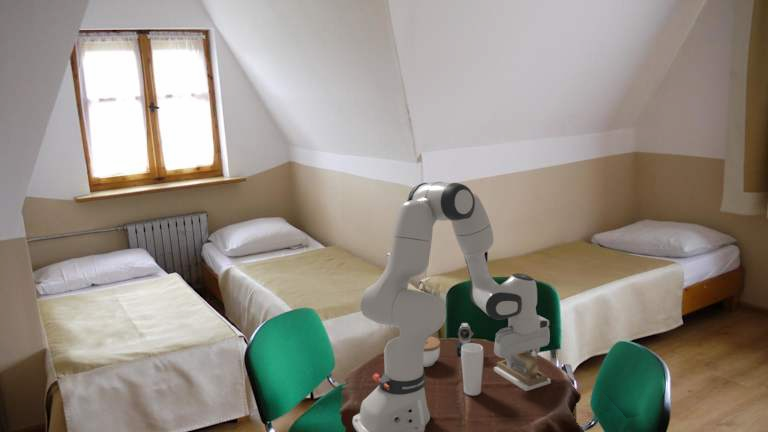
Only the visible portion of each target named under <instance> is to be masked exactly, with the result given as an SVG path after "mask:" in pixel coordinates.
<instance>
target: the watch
mask: <svg viewBox="0 0 768 432" xmlns="http://www.w3.org/2000/svg"><path fill="white" fill-rule="evenodd" d="M473 335H474V332H473V331H472V330H471V327H470V325H469V323H467V322H461V325H460V327H459V329H458V331H457V336H458V338H459V341H460V342H456V356H457V355H458V356H457V357H461V347H462V346H463V345H464V344H467V343H471V339H472V336H473Z"/></svg>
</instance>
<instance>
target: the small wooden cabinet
mask: <svg viewBox="0 0 768 432" xmlns="http://www.w3.org/2000/svg"><path fill="white" fill-rule="evenodd" d="M493 372H496V373H497V374H499V376H501V377H503V378H504V379H506V380H508V381H509V382H510V383H512V384H514V385H515V386H517V387H519V388H520V389H521V390H523V391H525V392H527V391H531V390H534V389H537V388H540V387H543V386H546V385H550V384H551V383H552V381H551V379H550V378H549V375H547V374H545V373H543V372H542V371H540V370H539V369H537V375H536V378H534V379H531V380H530V379H528V378H526V377H525V376H523V375H522V374H520V373H518V372H517V371H515V370H513V369H512V368H508V367H507V361H506V360H505V359H504V360H499V361H496V366H494V367H493Z"/></svg>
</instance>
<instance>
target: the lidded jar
mask: <svg viewBox="0 0 768 432" xmlns="http://www.w3.org/2000/svg"><path fill="white" fill-rule="evenodd" d="M440 353H441V341H440V340H439V338H437V337H434V336H432V335H431V336H430V337H429V338H428V339H427V341H426V343H425V347H424V356H423V368H424V367H425V368H428V367H432V366H434V364H435V363H436V362H437V361H438V359H439V357H440Z"/></svg>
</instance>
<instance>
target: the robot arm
mask: <svg viewBox="0 0 768 432" xmlns="http://www.w3.org/2000/svg"><path fill="white" fill-rule="evenodd" d="M437 221H440V222H441V221H450V222H451V225H452V229H453V233H454V235H455V239H456V241H457V243H458V246H459V247H460V250H461V252H462V254H463V257H464V261H465V263H466V267H467V268H466V269H467V271H468V274H469V278H470V286H469V287H470V288H469V297H470V299H471V301H472V303H473V304H474V305H475V306H476V307H477V308H480V309H481V310H482V311H483V312H484V313H485V314H486V315H487V316H488V317H490V318H491V319H493V320H497V321H500V320H506V319H507V321H508V325H507V327H502V328H500V329H499V330H498V331H497V332H496V333H495V339H494V345H493V353H494V355H495V356H497V357H498V358H500V359H504V360H506V361H507V367H508V368H512V367H514V362H512V361H511V360H510V359H511V356H512V355H516V354H519V353H523V352H530V351H531V354H530V353H529V354H530V355H532V356H534V357H536V358H538V354H539V352H541V351H540V350H541V348H543V347H546V346H548V345H549V343H550V339H551V338H550V337H551V333H550V331H551V329H550V327H549V326H550V320H549V319H547V318H545V317H543V316H541V315H538V314H537V309H536V307H537V305H538V288H537V283H536V280H535V279H534V278H533V277H532V276H529V275H528V274H524V273H513V274H511V275H510V277H508V278H507V280H505V281H504V282H502V283H501V284H499V283H498V282H497V281H496V280H495V279H493V277H492V276H491V274H490V271H489V267H488V263H487V260H486V255H485V253H487V252H488V251H489V250H490V249H491V248H492V247H493V245H494V241H495V240H494V234H493V228H492V226H491V222H490V219H489V216H488V214H487V211H486V209H485V206H484V205H483V203H482V202H481V199H480V198H479V196H478V195H477V194H476V193H474V192H472V190H471V189H470V188H469V187H468V186H467V185H465V184H462V183H458V182H443V181H432V182H423V183H420V184H417V185H415V186H414V187H413V188H412V189H411V190H410V192H409V194H408V198H407V200H406V201H405V202H404V203H402V204H401V206H400V207H399V210H398V212H397V216H396V219H395V222H394V227H393V232H392V240H391V245H390V251H389V254H388V255H389V256H388V260H387V263H386V266H385V269H384V271H383V272H382V274H381V276H380V277H379V278H378V279H377V280H376V281H375V282H374V283H372V284H371V285H370V286H368V287H367V288H366V289H365V290H364V291H363V293H362V295H361V298H360V302H359V303H360V304H359V307H360V311H361V313H362V315H363V317H365V318H366V319H369V320H370V321H373V322H374V323H376V324H379V325H383V326H389V327H394V328H398V329H399V336H396V337H394V338H392V339H390V340H389V341H388V342H387V343H386V344H385V346H384V350H383V359H384V363H383V364H384V371H383V373H382V375H381V376H380V374H379V373H374V374H373V375H372V380H373V381H374V382H376V383H379V385H378V386H376V388H375V389H373V391H371V393H370V394H368V396H366V398H364V399H363V400H362V402H361V405H360V411H359V413H357V414H356V415H354V416H353V417H352V425H353V428H354V430H355V431H356V432H425V430H426V426H427V424H428V423H429V421H430V420H431V415H430V410H429V408H428V405H427V404H428V403H427V400H426V398H427V397H426V392H425V387H426V371H425V370H424V367H423V356H424V347H425V343H426V341H427V339H428V338H429V337H430V336H431V337H432V335H434V334H435V333H436V332H437V331H439V330H440V329H441V328H442V327H443V325H444V324H445V321H446V317H447V307H446V305H445V302H444V301H443V299H442V298H441V297H438V296H436V295H434V294H431V293H429V292H425V291H420V290H414V289H410V288H409V289H408V287H409V284H410V282H411V281H412V279H413V278H415V277H417V276H420V275H423V274H424V273H425V271H427V269H428V267H429V262H430V256H431V250H432V249H431V248H432V243H433V242H432V241H433V230H434V229H433V228H434V225H435V223H436V222H437Z"/></svg>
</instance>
